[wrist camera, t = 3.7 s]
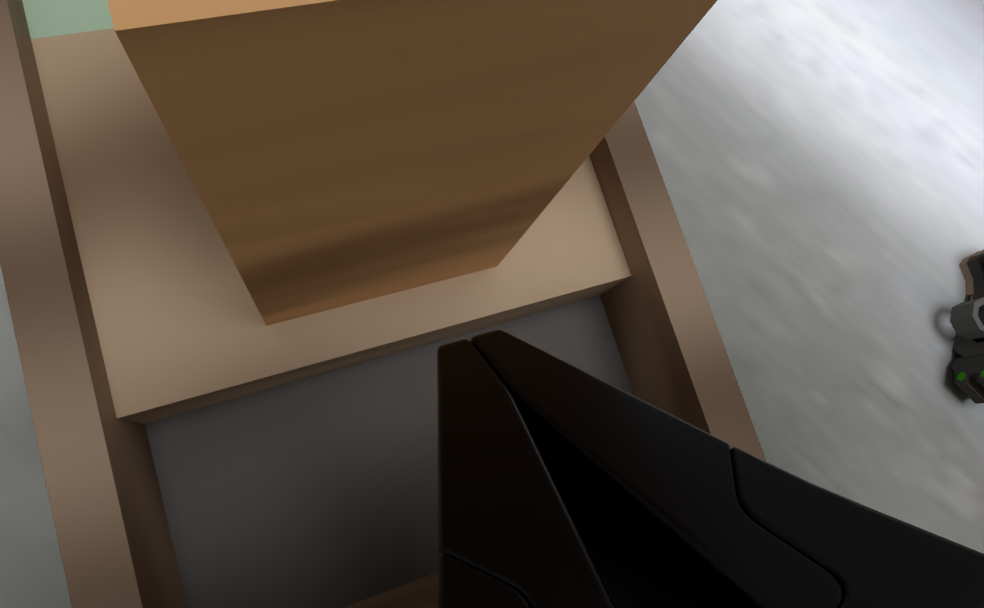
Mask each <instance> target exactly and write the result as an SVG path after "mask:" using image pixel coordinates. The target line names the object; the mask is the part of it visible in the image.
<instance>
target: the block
mask: <svg viewBox="0 0 984 608" xmlns="http://www.w3.org/2000/svg"><path fill="white" fill-rule="evenodd" d="M107 1H108V5H109V10H110V14H111V18H112V22H113V26H114V30H115V32H116V34H117V36H118V38H119V40H120V42H121V44H122V46H123V48H124V50H125V52H126V54H127V56H128V58H129V59H130V61H131V63H132V65H133V67H134V69H135V71H136V73H137V75H138V77H139V79H140V81H141V83H142V85H143V87H144V89H145V91H146V93H147V95H148V96H149V98H150V100H151V102H152V104H153V106H154V108H155V110H156V112H157V114H158V116H159V118H160V120H161V122H162V124H163V126H164V128H165V130H166V131H167V133H168V135H169V137H170V139H171V141H172V143H173V145H174V147H175V149H176V151H177V153H178V155H179V157H180V159H181V161H182V163H183V165H184V166H185V168H186V170H187V172H188V174H189V176H190V178H191V180H192V182H193V184H194V186H195V188H196V190H197V192H198V194H199V196H200V198H201V200H202V202H203V203H204V205H205V207H206V209H207V211H208V213H209V215H210V217H211V219H212V221H213V223H214V225H215V227H216V229H217V231H218V233H219V235H220V237H221V238H222V240H223V242H224V244H225V246H226V248H227V250H228V252H229V254H230V256H231V258H232V260H233V262H234V264H235V266H236V268H237V270H238V272H239V273H240V275H241V277H242V279H243V281H244V283H245V285H246V287H247V289H248V291H249V293H250V295H251V297H252V299H253V301H254V303H255V305H256V307H257V308H258V310H259V312H260V314H261V316H262V318H263V320H264V322H265V324H266V326H268V325H272V324H276V323H280V322H283V321H287V320H291V319H295V318H299V317H303V316H307V315H311V314H315V313H318V312H322V311H326V310H330V309H334V308H338V307H342V306H346V305H349V304H353V303H357V302H361V301H365V300H369V299H373V298H377V297H381V296H384V295H388V294H392V293H396V292H400V291H404V290H408V289H412V288H416V287H419V286H423V285H427V284H431V283H435V282H439V281H443V280H447V279H450V278H454V277H458V276H462V275H466V274H470V273H474V272H478V271H482V270H485V269H489V268H493V267H497V266H498V265H499V264H500V263H501V261H502V260H503V259H504V258H505V257H506V255H507V254H508V253H509V252H510V250H511V249H512V248H513V247H514V246H515V244H516V243H517V242H518V241H519V240H520V238H521V237H522V236H523V235H524V234H525V232H526V231H527V230H528V229H529V227H530V226H531V225H532V224H533V223H534V221H535V220H536V219H537V218H538V217H539V215H540V214H541V213H542V212H543V211H544V209H545V208H546V207H547V206H548V204H549V203H550V202H551V201H552V200H553V198H554V197H555V196H556V195H557V194H558V192H559V191H560V190H561V189H562V188H563V186H564V185H565V184H566V183H567V181H568V180H569V179H570V178H571V177H572V175H573V174H574V173H575V172H576V171H577V169H578V168H579V167H580V166H581V165H582V163H583V162H584V161H585V160H586V158H587V157H588V156H589V155H590V154H591V152H592V151H593V150H594V149H595V148H596V146H597V145H598V144H599V143H600V142H601V140H602V139H603V138H604V137H605V135H606V134H607V133H608V132H609V131H610V129H611V128H612V127H613V126H614V125H615V123H616V122H617V121H618V120H619V119H620V117H621V116H622V115H623V114H624V112H625V111H626V110H627V109H628V108H629V106H630V105H631V104H632V103H633V102H634V100H635V99H636V98H637V97H638V96H639V94H640V93H641V92H642V91H643V89H644V88H645V87H646V86H647V85H648V83H649V82H650V81H651V80H652V79H653V77H654V76H655V75H656V74H657V73H658V71H659V70H660V69H661V68H662V66H663V65H664V64H665V63H666V62H667V60H668V59H669V58H670V57H671V56H672V54H673V53H674V52H675V51H676V50H677V48H678V47H679V46H680V45H681V43H682V42H683V41H684V40H685V39H686V37H687V36H688V35H689V34H690V33H691V31H692V30H693V29H694V28H695V27H696V25H697V24H698V23H699V22H700V20H701V19H702V18H703V17H704V16H705V14H706V13H707V12H708V11H709V10H710V8H711V7H712V6H713V5H714V4H715V2H716V1H717V0H107Z"/></svg>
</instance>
